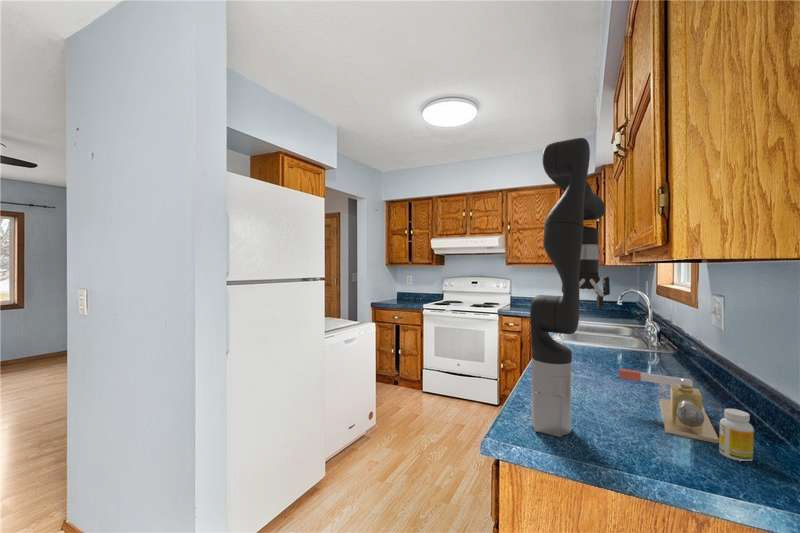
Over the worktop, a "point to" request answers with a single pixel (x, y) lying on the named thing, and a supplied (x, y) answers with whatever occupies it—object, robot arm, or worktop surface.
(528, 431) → the worktop surface
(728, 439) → the supplement bottle
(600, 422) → the worktop surface
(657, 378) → the valve lever
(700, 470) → the worktop surface
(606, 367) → the worktop surface
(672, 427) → the valve rig
